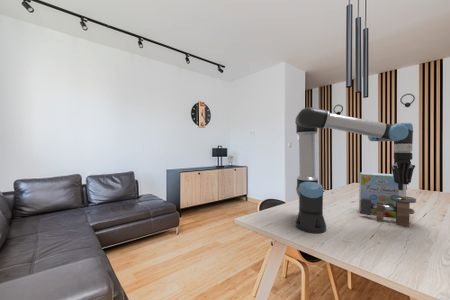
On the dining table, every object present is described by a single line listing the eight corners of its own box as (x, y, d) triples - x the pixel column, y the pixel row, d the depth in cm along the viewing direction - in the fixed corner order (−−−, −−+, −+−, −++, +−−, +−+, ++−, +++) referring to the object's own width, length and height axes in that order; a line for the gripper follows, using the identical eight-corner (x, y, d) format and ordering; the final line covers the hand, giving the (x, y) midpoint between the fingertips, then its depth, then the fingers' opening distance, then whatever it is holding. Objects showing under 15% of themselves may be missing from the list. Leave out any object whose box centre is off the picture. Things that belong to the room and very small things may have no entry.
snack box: (359, 213, 131) (360, 173, 130) (358, 209, 139) (358, 172, 138) (403, 219, 121) (404, 176, 120) (399, 214, 129) (400, 174, 128)
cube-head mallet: (414, 222, 110) (415, 206, 110) (361, 214, 124) (362, 199, 124) (413, 220, 113) (414, 204, 113) (362, 212, 127) (362, 198, 127)
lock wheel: (417, 204, 106) (417, 193, 106) (390, 200, 113) (390, 190, 113) (414, 199, 115) (414, 189, 115) (389, 196, 122) (389, 187, 122)
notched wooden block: (409, 227, 109) (409, 203, 109) (376, 221, 118) (377, 198, 117) (407, 222, 116) (407, 199, 116) (376, 216, 125) (376, 195, 124)
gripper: (399, 152, 104) (398, 198, 105) (421, 152, 106) (420, 197, 107) (385, 152, 112) (385, 194, 112) (406, 151, 113) (405, 194, 114)
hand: (402, 196), depth 109 cm, fingers closed
